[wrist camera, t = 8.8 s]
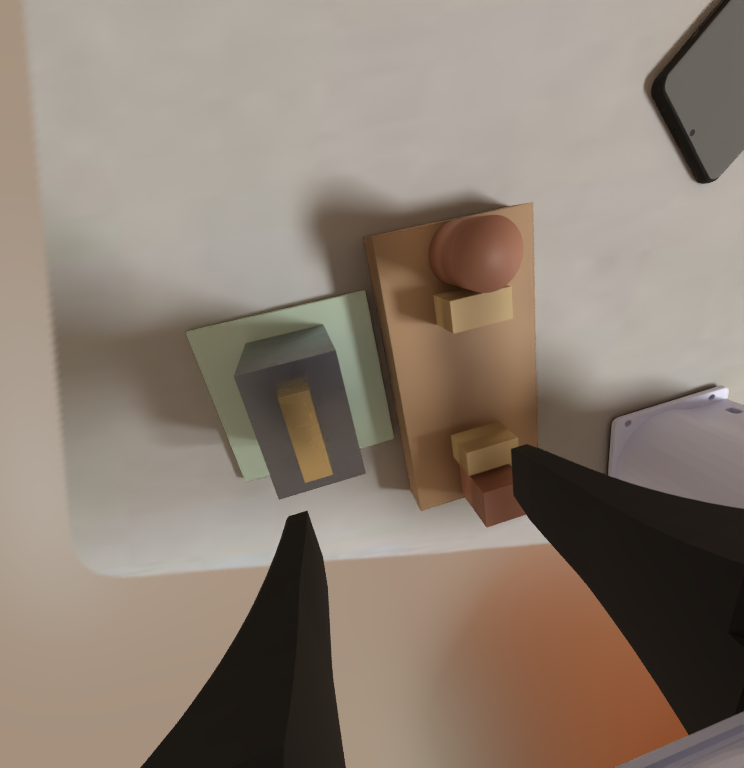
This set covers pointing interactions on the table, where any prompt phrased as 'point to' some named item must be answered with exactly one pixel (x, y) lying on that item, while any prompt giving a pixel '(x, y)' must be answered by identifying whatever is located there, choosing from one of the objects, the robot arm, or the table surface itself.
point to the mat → (338, 315)
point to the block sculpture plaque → (461, 352)
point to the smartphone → (707, 93)
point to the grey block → (299, 410)
